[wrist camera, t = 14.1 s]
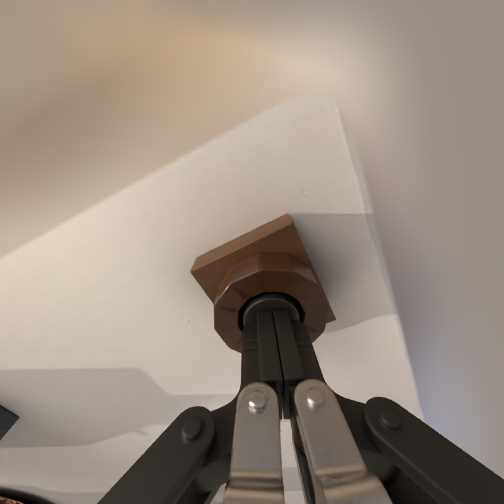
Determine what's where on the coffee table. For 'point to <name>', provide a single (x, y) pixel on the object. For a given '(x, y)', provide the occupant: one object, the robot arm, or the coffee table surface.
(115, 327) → the coffee table surface
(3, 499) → the cactus
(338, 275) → the coffee table surface
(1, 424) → the dial base block
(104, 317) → the coffee table surface
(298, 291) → the button block
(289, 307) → the button
